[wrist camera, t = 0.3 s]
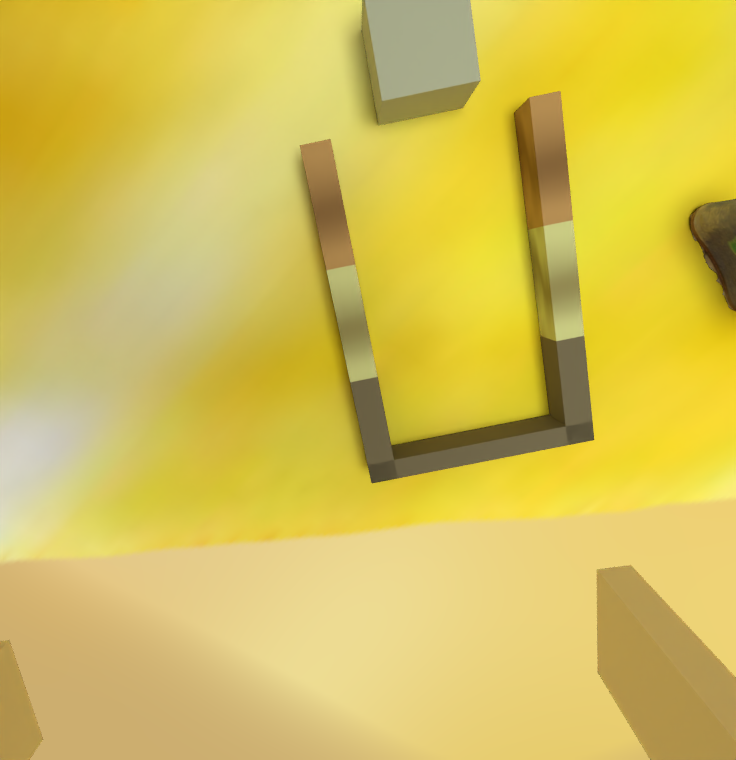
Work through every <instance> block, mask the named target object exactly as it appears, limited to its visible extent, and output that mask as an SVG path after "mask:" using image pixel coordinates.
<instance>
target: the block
mask: <svg viewBox="0 0 736 760" xmlns="http://www.w3.org/2000/svg"><path fill="white" fill-rule="evenodd" d="M362 35H363V41H364V46H365V52H366V58H367V63H368V69H369V75H370V80H371V86H372V92H373V97H374V103H375V109H376V115H377V120H378V125H383V124H388V123H393V122H398V121H402V120H407V119H412V118H417V117H422V116H426V115H431V114H436V113H441V112H446V111H451V110H455V109H460V108H463V107H464V105H465V104H466V102H467V101H468V99H469V97H470V96H471V94H472V93H473V91H474V90H475V88H476V87H477V85H478V84H479V82H480V73H479V65H478V57H477V49H476V42H475V34H474V26H473V19H472V11H471V3H470V0H362Z"/></svg>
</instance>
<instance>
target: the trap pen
mask: <svg viewBox="0 0 736 760" xmlns="http://www.w3.org/2000/svg"><path fill="white" fill-rule="evenodd" d="M541 345H542V353H543V362H544V370H545V379H546V387H547V396H548V404H549V413H550V415H545V416H540V417H535V418H530V419H525V420H520V421H515V422H510V423H505V424H500V425H495V426H489V427H484V428H479V429H474V430H469V431H464V432H459V433H454V434H449V435H444V436H439V437H433V438H428V439H423V440H418V441H413V442H408V443H403V444H398V445H393V446H391V442H390V437H389V432H388V427H387V422H386V417H385V412H384V407H383V402H382V397H381V392H380V387H379V382H378V377H374V378H369V379H364V380H359V381H354V382H350V383H351V388H352V393H353V398H354V402H355V407H356V412H357V416H358V421H359V426H360V430H361V435H362V440H363V445H364V449H365V454H366V459H367V463H368V468H369V473H370V478H371V482H372V483H376V482H381V481H386V480H391V479H397V478H402V477H407V476H412V475H417V474H422V473H427V472H432V471H438V470H443V469H448V468H453V467H458V466H463V465H468V464H473V463H479V462H484V461H489V460H494V459H499V458H504V457H509V456H514V455H520V454H525V453H530V452H535V451H540V450H545V449H550V448H555V447H560V446H566V445H571V444H576V443H581V442H586V441H591V440H594V433H593V423H592V412H591V402H590V392H589V381H588V371H587V361H586V350H585V340H584V336H580V337H575V338H570V339H565V340H560V341H554V340H551V339H548V338H545V337H542V336H541Z"/></svg>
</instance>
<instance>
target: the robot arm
mask: <svg viewBox="0 0 736 760" xmlns="http://www.w3.org/2000/svg"><path fill="white" fill-rule="evenodd" d="M597 650H598V674H599V675H600V677H601V679H602V680H603V682H604V684H605V685H606V687H607V689H608V690H609V692H610V693H611V695H612V697H613V699H614V700H615V702H616V703H617V705H618V707H619V709H620V710H621V712H622V713H623V715H624V717H625V718H626V720H627V722H628V723H629V725H630V727H631V728H632V730H633V732H634V733H635V735H636V737H637V738H638V740H639V742H640V743H641V745H642V747H643V748H644V750H645V752H646V753H647V755H648V757H649V758H650V760H736V677H735V676H734V675H733V674H732V673H731V672H730V671H729V670H728V669H727V668H726V666H725V665H724V664H723V663H722V662H721V661H720V660H719V659H718V658H717V657H716V656H715V655H714V654H713V653H712V651H711V650H710V649H709V648H708V647H707V646H706V645H705V644H704V643H703V642H702V641H701V640H700V639H699V638H698V637H697V636H696V634H695V633H694V632H693V631H692V630H691V629H690V628H689V627H688V626H687V625H686V624H685V623H684V621H682V619H681V618H680V617H679V616H678V615H677V614H676V613H675V612H674V611H673V610H672V609H671V608H670V606H669V605H668V604H667V603H666V602H665V601H664V600H663V599H662V598H661V597H660V596H659V595H658V594H657V593H656V592H655V590H653V588H652V587H651V586H650V585H649V584H648V583H647V582H646V581H645V580H644V579H643V578H642V577H641V575H639V573H638V572H637V571H636V570H635V569H634V568H633V567H632V566H631V565H630V566H622V567H613V568H605V569H597ZM42 740H43V737H42V734H41V731H40V729H39V726H38V723H37V720H36V717H35V714H34V711H33V708H32V705H31V702H30V699H29V696H28V693H27V691H26V687H25V685H24V682H23V679H22V676H21V673H20V670H19V667H18V664H17V661H16V658H15V655H14V652H13V650H12V646H11V643H10V641H9V640H8V641H0V760H30V758H31V757H32V755H33V754H34V752H35V750H36V749H37V748H38V746H39V745H40V743H41V742H42Z"/></svg>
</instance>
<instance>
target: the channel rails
mask: <svg viewBox="0 0 736 760" xmlns="http://www.w3.org/2000/svg"><path fill="white" fill-rule="evenodd" d="M514 115H515V124H516V132H517V141H518V149H519V158H520V166H521V175H522V183H523V192H524V200H525V209H526V217H527V226H528V234H529V243H530V251H531V260H532V268H533V277H534V285H535V294H536V302H537V311H538V319H539V328H540V336H542V337H545V338H548V339H551V340H554V341H560V340H565V339H570V338H575V337H580V336H584V330H583V319H582V309H581V299H580V288H579V278H578V268H577V257H576V247H575V237H574V227H573V216H572V206H571V196H570V185H569V175H568V165H567V154H566V144H565V134H564V123H563V113H562V103H561V92H560V91H558V92H553V93H549V94H544V95H539V96H534V97H530V98H528V99H527V100H526V101H525V103H524V104H523V105H522V106H521V107H520V108H519V109H518V110H517V111H516V112H515V113H514ZM300 148H301V153H302V157H303V162H304V167H305V171H306V176H307V181H308V186H309V190H310V195H311V200H312V204H313V209H314V214H315V219H316V223H317V228H318V233H319V237H320V242H321V247H322V252H323V256H324V261H325V266H326V270H327V275H328V280H329V285H330V289H331V294H332V299H333V303H334V308H335V313H336V317H337V322H338V327H339V332H340V336H341V341H342V346H343V350H344V355H345V360H346V365H347V369H348V374H349V379H350V382H354V381H359V380H364V379H369V378H374V377H377V372H376V367H375V361H374V356H373V351H372V346H371V341H370V336H369V331H368V326H367V321H366V316H365V311H364V306H363V301H362V296H361V291H360V286H359V281H358V276H357V271H356V266H355V261H354V256H353V251H352V246H351V241H350V236H349V231H348V226H347V221H346V215H345V210H344V205H343V200H342V195H341V190H340V185H339V180H338V175H337V170H336V165H335V160H334V155H333V150H332V145H331V140H330V139H328V140H324V141H319V142H314V143H309V144H305V145H300Z"/></svg>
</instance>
